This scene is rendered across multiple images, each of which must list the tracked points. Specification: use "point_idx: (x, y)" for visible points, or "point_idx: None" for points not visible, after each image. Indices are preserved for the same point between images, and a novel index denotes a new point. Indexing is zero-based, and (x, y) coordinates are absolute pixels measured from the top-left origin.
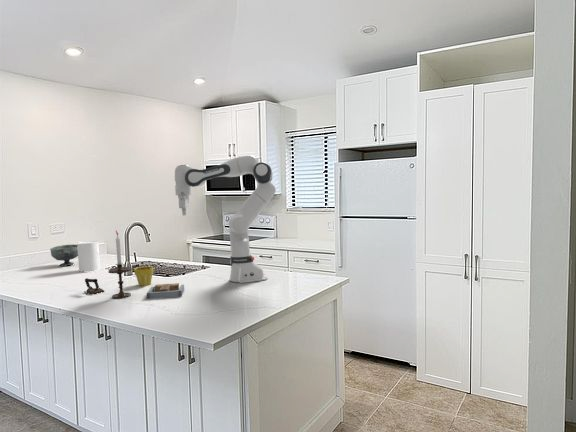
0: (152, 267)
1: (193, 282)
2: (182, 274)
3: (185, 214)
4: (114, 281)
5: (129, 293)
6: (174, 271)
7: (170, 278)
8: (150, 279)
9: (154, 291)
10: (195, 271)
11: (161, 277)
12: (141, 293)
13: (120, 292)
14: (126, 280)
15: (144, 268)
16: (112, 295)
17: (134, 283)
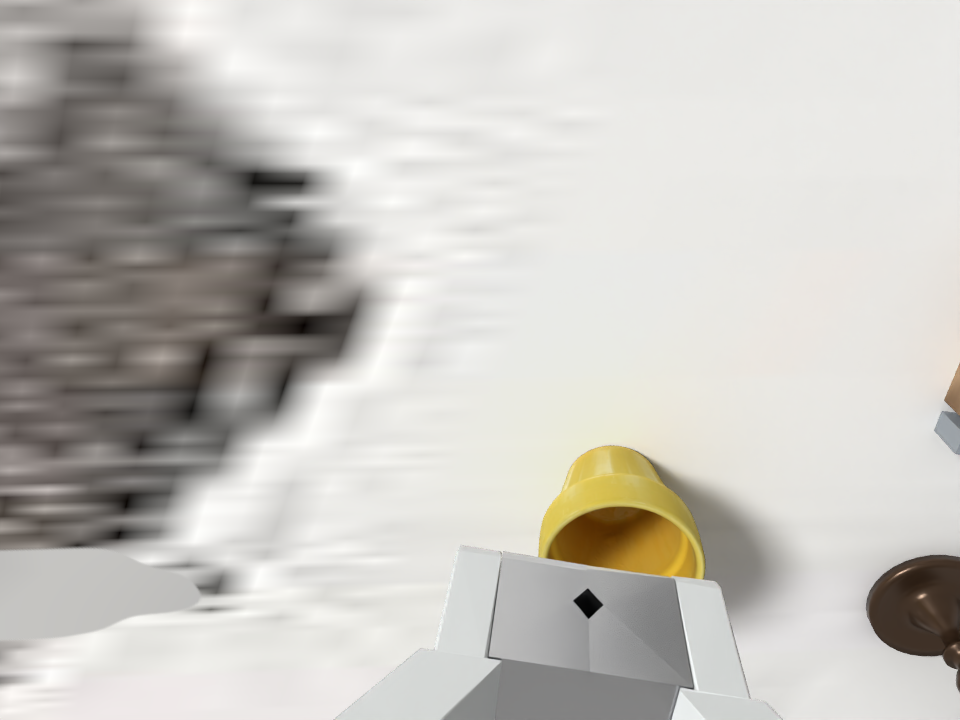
0: (613, 506)
1: (740, 84)
2: (305, 194)
3: (721, 603)
4: (405, 655)
5: (921, 569)
6: (141, 269)
7: (452, 300)
8: (644, 467)
9: (958, 416)
10: (187, 58)
11: (380, 372)
12: (921, 495)
13: (958, 629)
14: (401, 594)
15: (548, 557)
16: (918, 654)
17: (532, 546)
